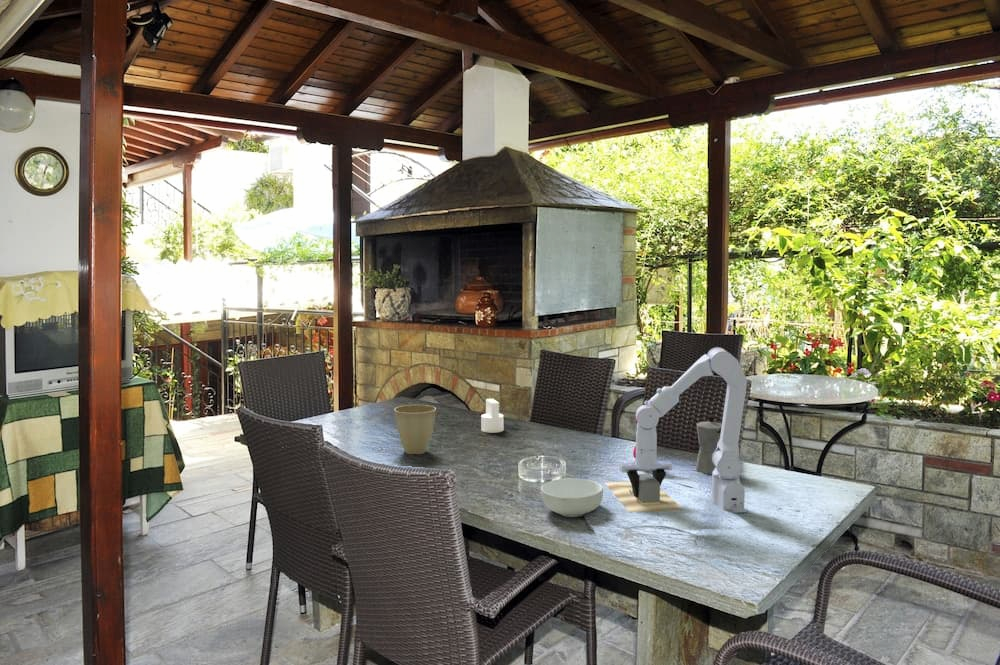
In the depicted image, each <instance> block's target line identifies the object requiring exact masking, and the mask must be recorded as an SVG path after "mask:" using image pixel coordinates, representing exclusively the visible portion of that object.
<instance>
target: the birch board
mask: <svg viewBox="0 0 1000 665" xmlns="http://www.w3.org/2000/svg"><path fill="white" fill-rule="evenodd" d="M604 485H605V486H607V488H608V489H609V490H610V491H611V493H612V494H613V495H614V496H615V497H616V498H617V500H618V501H619V502H620V503H621V504H622V505H623V506H624V508H625V509H626V510H627V511H628V512H629V513H648V512H649V513H651V512H653V513H654V512H668V511H669V512H671V511H684V508H682V506H681V505H679V504H678V503H677V502H676V501H675V500H674V499H673V498H672V497H671V496H670V495H668V493H666V491H664V490H663V489H662V488H661V487H660V504H655V505H642V504H641V503H640V502H639V501H638V500H637V499H636V498H635V497H634V496H633V495H632V485H631V482H630V480H629V481H611V482H604Z"/></svg>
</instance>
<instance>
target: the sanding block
mask: <svg viewBox="0 0 1000 665" xmlns="http://www.w3.org/2000/svg"><path fill="white" fill-rule="evenodd" d="M638 475H639V476H640V477H639V484H638V497H635V496H634V494H633V488H632V495H633V496H634V497H635V498H636V499H637V500H638V501H639V502H640V503H641V504H642V505H655V504H660V488H661V485H660V483H659V482H658V481H657V480H656V479H655V478H654V477H653V475H652V474H650V473H638Z"/></svg>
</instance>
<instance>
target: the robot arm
mask: <svg viewBox="0 0 1000 665" xmlns="http://www.w3.org/2000/svg"><path fill="white" fill-rule="evenodd" d="M713 372H714V373H715V374H717V375H719V376H721V378H722V379H723V380H724V381H725V382H726V383H727V384H726V386H727V387H726V393H725V399H724V406H723V414H722V420H721V421H722V422H721V424H722V427H721V434H720V439H719V441H718V443H717V448H716V450H715V452H714V453H713V455H712V462H713V464H714V465H715V466H716V468H715V469H714V471H713V472H712V474H711V503H712V504H713V505H716V506H717V507H719V508H720V509H721V510H724V511H727V510H729V511H730V510H731V511H732V512H733V513H735V514H736V513H737V514H738V513H747V512H748V510H747V509H746V508H745V496H746V495H745V491H746V490H745V488H744V486H743V484H742V483H741V481H740V472H741V469H742V464H741V462H740V449H739V448H740V447H739V440H740V435H741V434H740V433H741V426H742V420H743V415H744V414H743V412H744V406H745V398H746V393H747V384H748V378H747V376H746V374H745V373H744V371H743V368H742V366H741V365H740V362H739V360H738V359H737V358H736V357H735V356H734V355H733V354H731V353H730V352H728V351H727V350H726V349H725V348H723V347H719V346H717V347H713V348H711V349H710V350H708V352H707V354H706V353H704V354H703V355H702V356H700V358H698V359H697V360H696V361H695V362H694V363H693V364H692V365H691V366H690V367H689V368H688V369H687V370H686V371H685V372H684V373H683V374H682V375H681V376H680V377H679V378H678V379H677V380H676V381H675V382H674V383H672V385H671V386H667V385H664V386H663V387H662V388H661V387H658V388H657V389H656V393H655V394H654V395H653V396H652V397H651V398H650V399H649V400H645V401H644V402H643V405H640V406H639V407H638V408H637V409H636V412H635V414H634V416H635V419H637V422H638V423H637V424H636V425H635V426H636V432H635V445H636V459H635V460H636V462H635V461H632V462H627V463H619V471H620V472H621V473H626V475H627V477H628V478H629V481H630V482H631V485H632V488H633V494H634V496H635V497H638V484H639V477H640V476H639V475H638V474H639V472H647V471H649V472H650V471H651V473H652V474H651V475H652V476H653V477H654V478H655V479H656V480H657V481H658V482H659V483H660V486H661V485H662V483H663V482H664V479H665V478H666V476H667V472H666V471H673V463H671V462H670V461H657V454H658V452H657V451H658V450H657V447H658V446H657V443H658V441H657V440H658V439H657V438H658V432H657V425H658V423H659V419H660V418H663V416H665V415H666V414H667V413H668V412H669V411H670V410H671V409H673V408H674V407H675V406H676V405H677V404H678V403H679V402H680V395H682V393H683V392H685V391H686V390H688V389H689V388H690V387H691V386H692V385H693V384H695V382H697V381H698V380H700V379H701V378H702V377H709V376H710V377H711V376H714V373H713Z"/></svg>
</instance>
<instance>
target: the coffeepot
mask: <svg viewBox="0 0 1000 665" xmlns="http://www.w3.org/2000/svg"><path fill="white" fill-rule="evenodd" d="M714 418H715V417H714V416H712V415H709V416H708V421H698V423H696V431H697V439H698V445H699V450H698V454H697V460H696V463H695V464H696V465H695V470H696V471H697V472H699V473H700V472H701V474H704V473H705V475H712V472H713V471H714V469H715V468H716V466H715V465H714V464H713V462H712V455H713V453H714V452H715V450H716V448H717V443H718V441H719V439H720V434H721V427H722V422H721V423H719V422H717V421H714Z"/></svg>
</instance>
